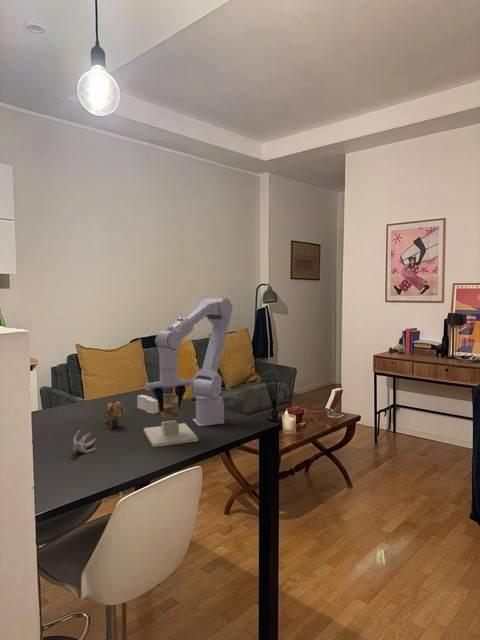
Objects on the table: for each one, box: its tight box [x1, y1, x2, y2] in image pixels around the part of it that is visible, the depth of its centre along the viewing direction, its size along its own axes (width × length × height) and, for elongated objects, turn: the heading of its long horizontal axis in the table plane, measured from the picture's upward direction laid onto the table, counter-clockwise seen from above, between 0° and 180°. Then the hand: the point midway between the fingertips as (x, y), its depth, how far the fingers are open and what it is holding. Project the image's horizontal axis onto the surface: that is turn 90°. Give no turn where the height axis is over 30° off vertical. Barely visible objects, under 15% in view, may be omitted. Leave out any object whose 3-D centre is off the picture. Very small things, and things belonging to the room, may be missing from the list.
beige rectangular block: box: [136, 394, 159, 415], centre depth 175 cm, size 15×11×6 cm
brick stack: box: [160, 392, 179, 419], centre depth 145 cm, size 5×5×6 cm
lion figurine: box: [104, 401, 127, 428], centre depth 159 cm, size 15×5×9 cm, turn 35°
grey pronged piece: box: [69, 429, 98, 454], centre depth 134 cm, size 8×5×12 cm
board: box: [143, 419, 199, 448], centre depth 146 cm, size 14×16×4 cm
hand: (169, 410), depth 145 cm, fingers closed on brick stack, 5 cm apart
